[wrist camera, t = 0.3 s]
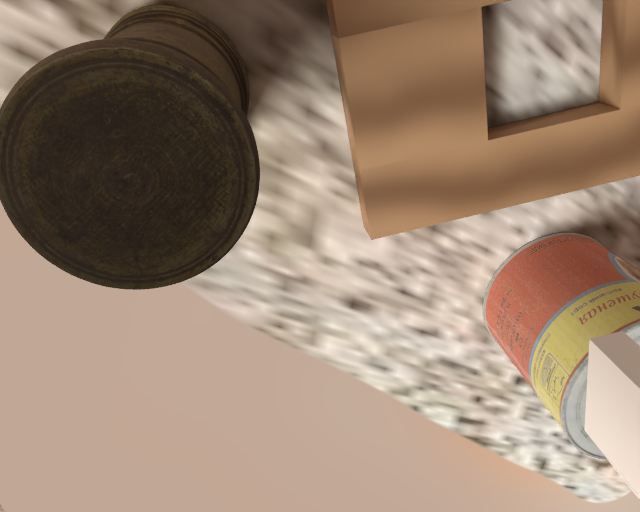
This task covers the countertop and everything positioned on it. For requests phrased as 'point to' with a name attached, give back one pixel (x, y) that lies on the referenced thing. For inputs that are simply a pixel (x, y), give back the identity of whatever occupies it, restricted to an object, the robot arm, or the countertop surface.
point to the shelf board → (469, 115)
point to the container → (133, 152)
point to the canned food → (561, 318)
